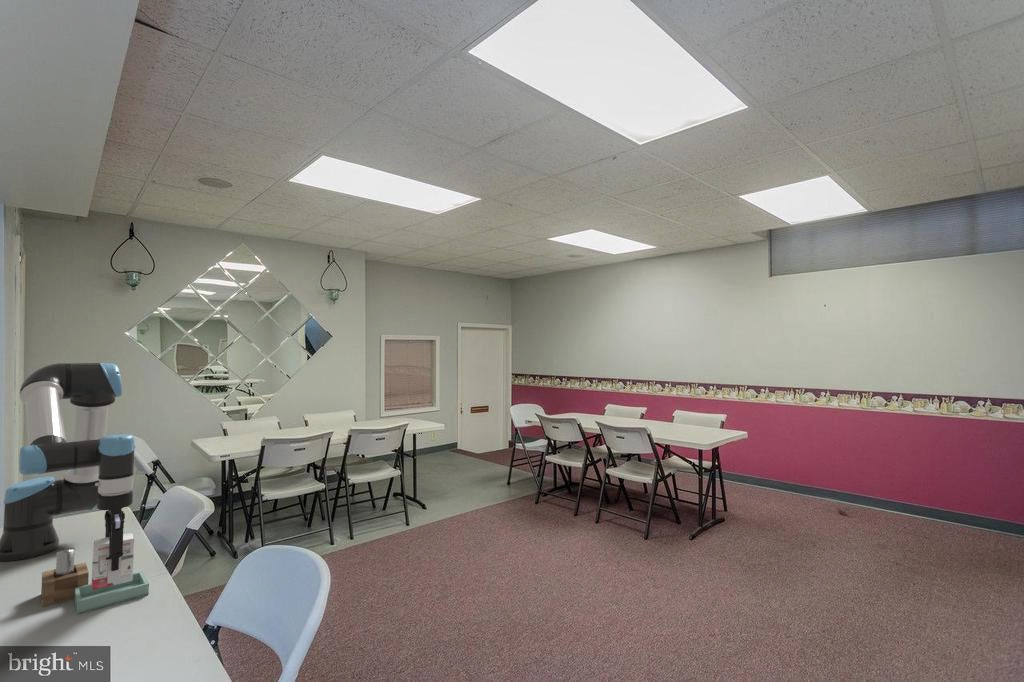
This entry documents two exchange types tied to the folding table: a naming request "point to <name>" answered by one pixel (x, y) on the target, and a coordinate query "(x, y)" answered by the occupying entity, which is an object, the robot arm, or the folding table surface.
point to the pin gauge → (65, 562)
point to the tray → (110, 594)
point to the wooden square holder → (62, 584)
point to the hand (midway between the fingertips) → (112, 577)
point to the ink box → (102, 564)
